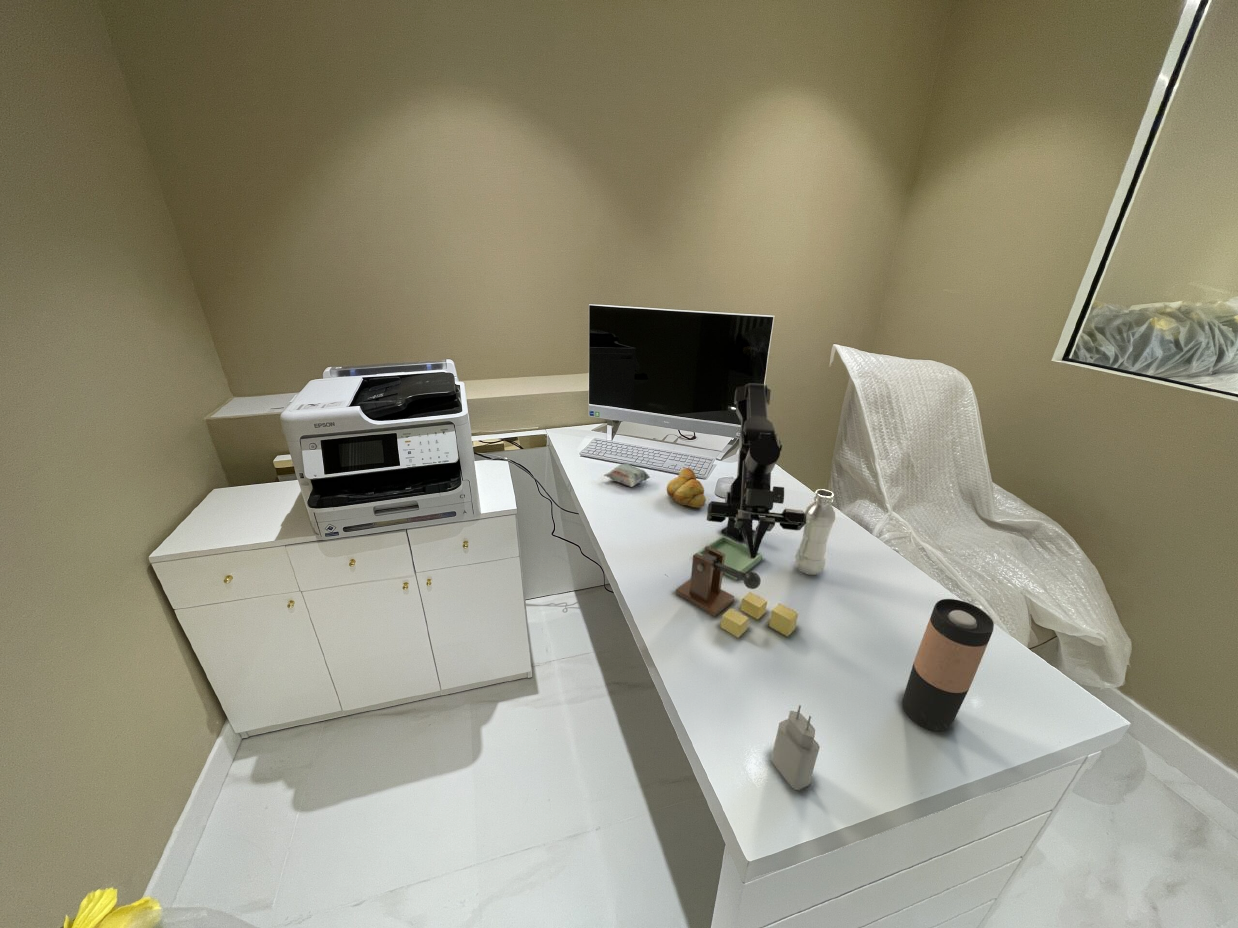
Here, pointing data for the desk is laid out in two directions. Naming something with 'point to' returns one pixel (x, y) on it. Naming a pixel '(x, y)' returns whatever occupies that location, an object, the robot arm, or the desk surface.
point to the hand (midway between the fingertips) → (752, 558)
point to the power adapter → (795, 750)
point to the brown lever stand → (706, 584)
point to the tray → (734, 555)
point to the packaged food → (627, 475)
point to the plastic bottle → (816, 533)
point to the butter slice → (783, 619)
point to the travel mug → (946, 663)
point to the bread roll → (686, 489)
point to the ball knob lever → (736, 573)
